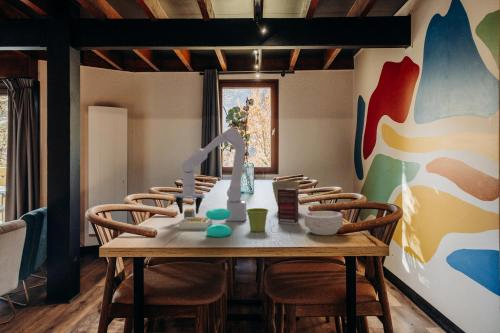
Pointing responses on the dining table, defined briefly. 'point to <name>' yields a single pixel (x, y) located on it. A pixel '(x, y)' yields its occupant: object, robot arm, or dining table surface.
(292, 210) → the supplement box
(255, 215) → the plant pot
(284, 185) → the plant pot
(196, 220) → the walled box
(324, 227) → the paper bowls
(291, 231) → the dining table surface
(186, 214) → the connector
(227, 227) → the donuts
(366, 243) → the dining table surface
